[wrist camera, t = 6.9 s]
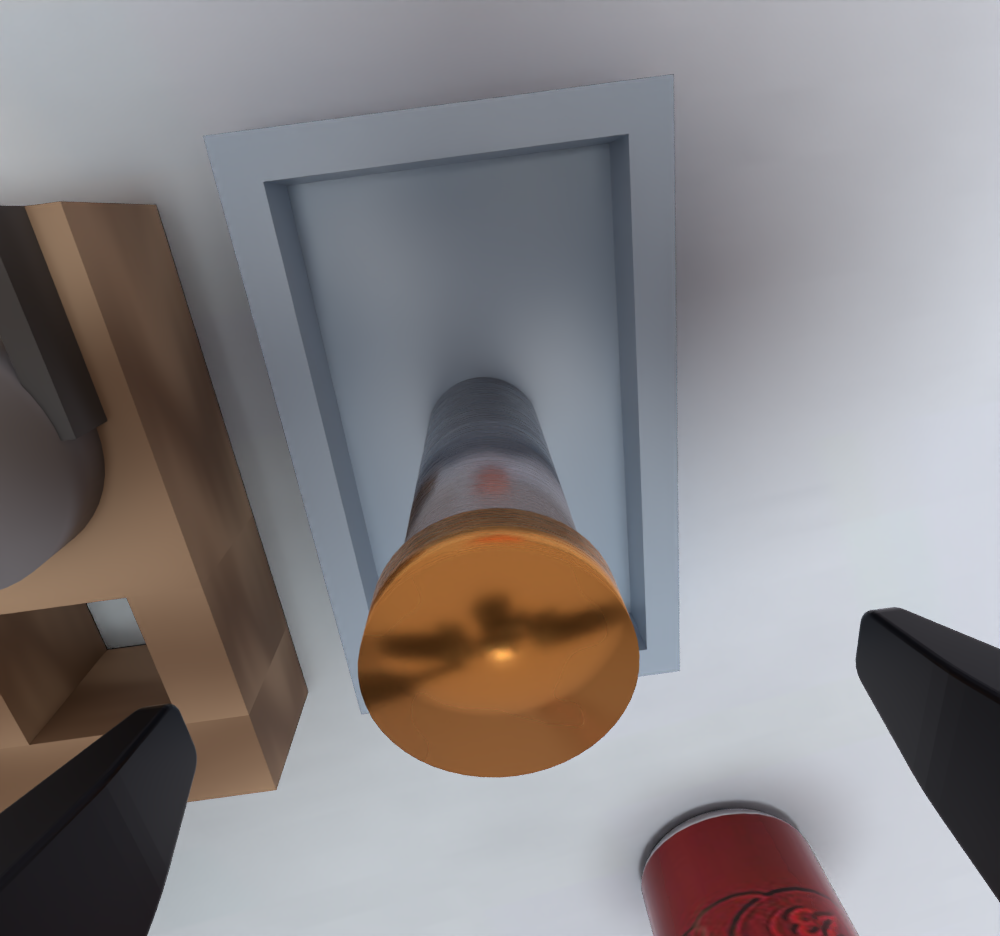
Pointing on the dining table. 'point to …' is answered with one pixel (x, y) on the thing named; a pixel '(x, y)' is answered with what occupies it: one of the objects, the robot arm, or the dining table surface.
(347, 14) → the dining table surface
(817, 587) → the dining table surface
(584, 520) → the tray
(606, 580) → the pin
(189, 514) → the tensioner block
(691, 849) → the soda can
